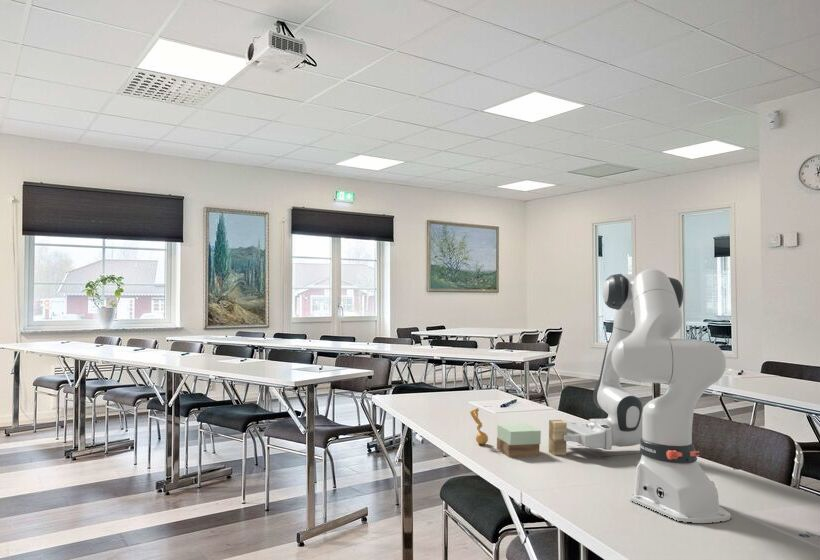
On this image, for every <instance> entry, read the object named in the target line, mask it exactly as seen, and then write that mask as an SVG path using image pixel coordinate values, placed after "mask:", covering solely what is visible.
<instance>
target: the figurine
mask: <svg viewBox="0 0 820 560" xmlns="http://www.w3.org/2000/svg"><path fill="white" fill-rule="evenodd" d="M479 411H480V410H479V408H478V407H476V408H473V409H471V410H470V412H469V414H470V416H471V418H473V420H474V422H475V423H476V424H477V426H476V430H477V431H478V433H477V434H476V436H475V441H476V443H477V444H479V445H482V446H483V445H486V444H487V443H488V441H489V437H488V434H487V433H486V432H484V431H482V430H480V429H481V428H482V427H483V422H481V420H480V419H479Z"/></svg>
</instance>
